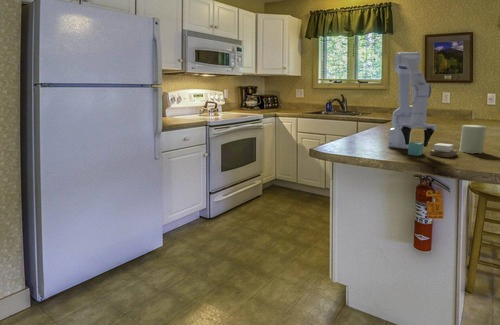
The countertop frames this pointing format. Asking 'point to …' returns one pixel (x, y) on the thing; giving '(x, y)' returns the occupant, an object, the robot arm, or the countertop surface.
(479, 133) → the can
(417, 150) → the teal block
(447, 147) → the white block
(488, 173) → the countertop surface
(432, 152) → the walnut slab
